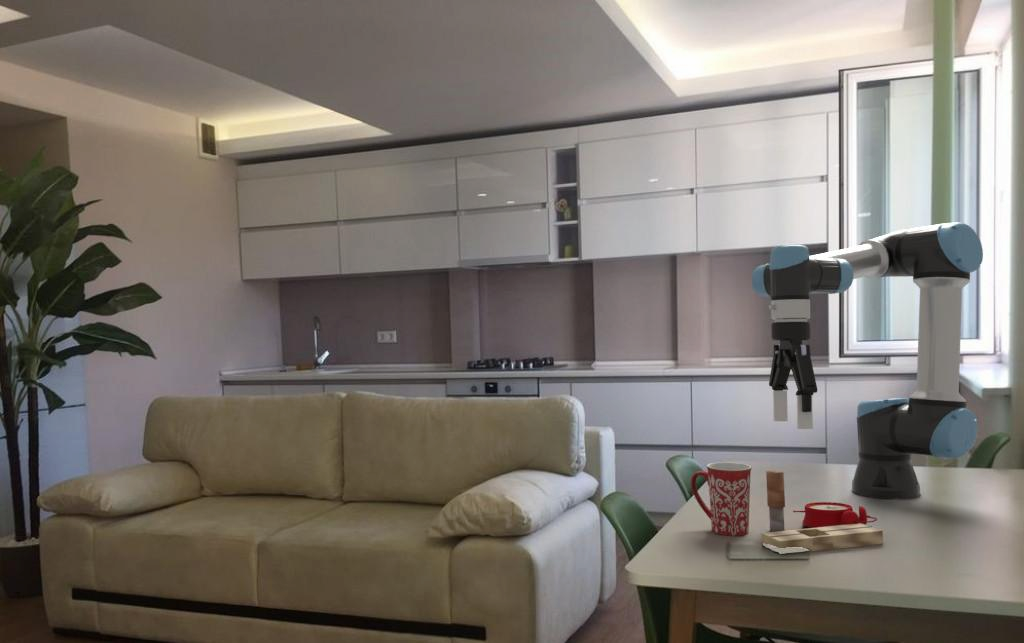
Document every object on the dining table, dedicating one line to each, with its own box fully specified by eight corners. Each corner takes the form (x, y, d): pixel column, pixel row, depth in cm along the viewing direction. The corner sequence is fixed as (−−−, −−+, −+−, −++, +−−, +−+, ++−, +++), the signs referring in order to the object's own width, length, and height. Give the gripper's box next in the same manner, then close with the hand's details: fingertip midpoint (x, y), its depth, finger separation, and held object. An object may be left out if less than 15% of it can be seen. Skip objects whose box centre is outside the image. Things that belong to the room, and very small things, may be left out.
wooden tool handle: (779, 527, 160) (777, 469, 161) (789, 531, 157) (787, 472, 157) (765, 529, 160) (762, 471, 160) (774, 533, 156) (772, 473, 156)
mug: (760, 529, 160) (758, 464, 160) (744, 539, 152) (741, 471, 153) (702, 521, 167) (700, 459, 167) (684, 530, 160) (682, 465, 160)
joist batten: (861, 535, 153) (861, 522, 153) (883, 543, 147) (882, 530, 147) (762, 546, 147) (761, 532, 147) (780, 554, 142) (779, 540, 142)
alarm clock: (809, 501, 168) (878, 491, 158) (817, 530, 166) (887, 522, 156) (787, 508, 161) (857, 498, 150) (795, 539, 159) (867, 531, 149)
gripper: (753, 322, 171) (754, 418, 171) (794, 319, 146) (796, 432, 146) (786, 322, 171) (788, 418, 171) (834, 319, 146) (836, 431, 146)
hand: (792, 424), depth 158 cm, fingers open, 13 cm apart
